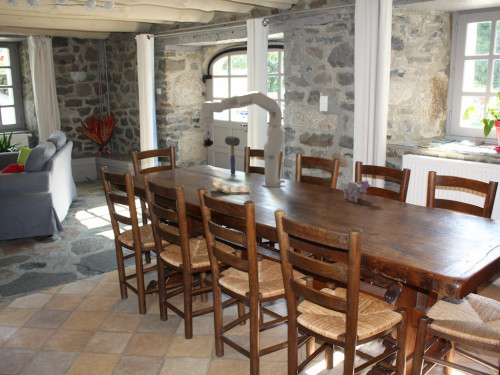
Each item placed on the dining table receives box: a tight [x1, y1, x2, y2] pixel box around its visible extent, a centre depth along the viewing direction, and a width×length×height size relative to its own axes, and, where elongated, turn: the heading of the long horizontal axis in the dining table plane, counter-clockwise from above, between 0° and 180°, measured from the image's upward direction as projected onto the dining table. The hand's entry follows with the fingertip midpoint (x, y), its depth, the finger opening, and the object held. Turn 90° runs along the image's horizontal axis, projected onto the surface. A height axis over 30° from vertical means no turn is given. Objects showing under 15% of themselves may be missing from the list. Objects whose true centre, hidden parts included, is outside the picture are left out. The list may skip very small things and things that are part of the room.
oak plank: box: [210, 179, 231, 195], centre depth 333 cm, size 13×18×2 cm
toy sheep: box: [342, 179, 372, 203], centre depth 303 cm, size 20×11×14 cm, turn 32°
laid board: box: [229, 185, 250, 195], centre depth 335 cm, size 12×18×2 cm
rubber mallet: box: [224, 135, 241, 175], centre depth 392 cm, size 12×8×30 cm, turn 35°
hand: (208, 145), depth 339 cm, fingers open, 9 cm apart
